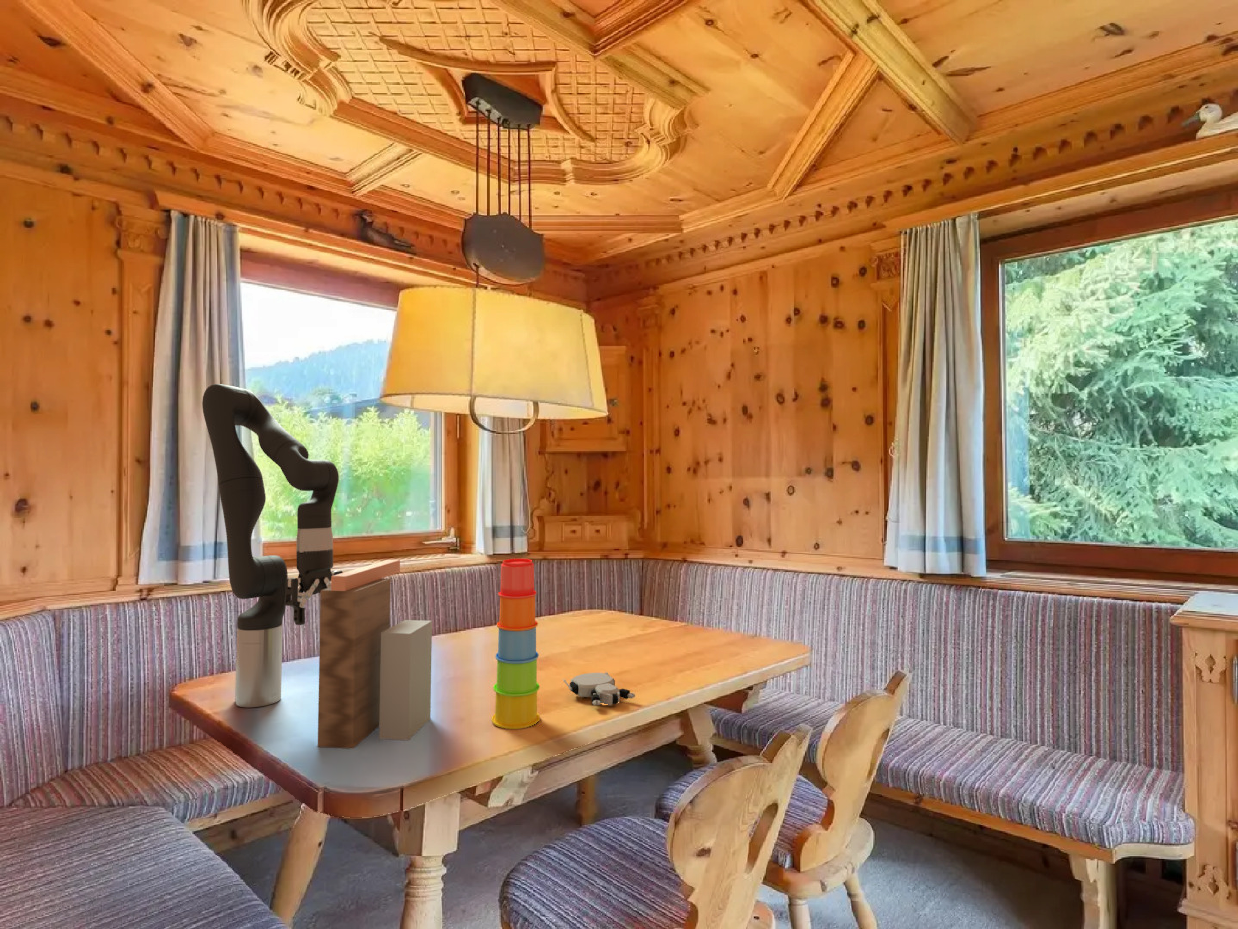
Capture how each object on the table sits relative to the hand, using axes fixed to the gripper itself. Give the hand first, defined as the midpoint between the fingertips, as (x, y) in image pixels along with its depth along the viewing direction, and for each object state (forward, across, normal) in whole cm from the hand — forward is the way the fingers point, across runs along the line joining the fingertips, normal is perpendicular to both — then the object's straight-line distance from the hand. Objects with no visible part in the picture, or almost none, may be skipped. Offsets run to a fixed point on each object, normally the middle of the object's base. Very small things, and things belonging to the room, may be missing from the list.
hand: (315, 620), depth 151 cm
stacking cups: (+22, -13, +44) cm, 51 cm away
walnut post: (+20, +6, +18) cm, 28 cm away
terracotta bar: (-10, +2, +17) cm, 20 cm away
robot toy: (+22, -33, +54) cm, 67 cm away
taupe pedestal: (+21, +1, +26) cm, 33 cm away
